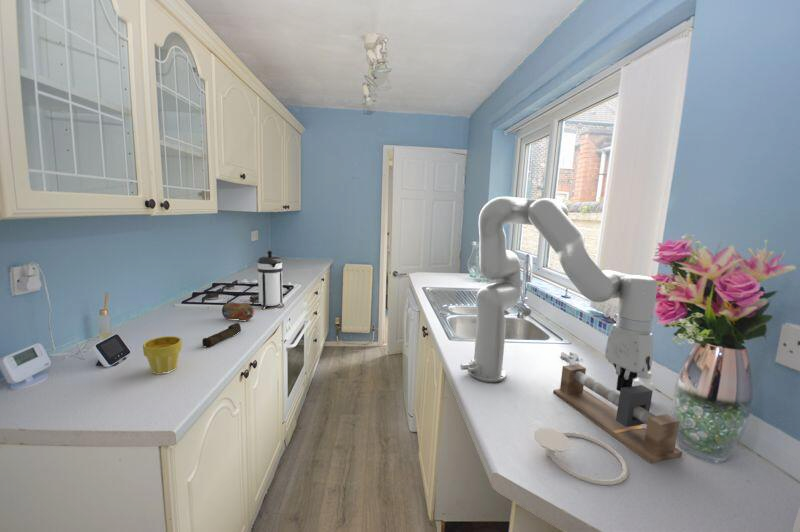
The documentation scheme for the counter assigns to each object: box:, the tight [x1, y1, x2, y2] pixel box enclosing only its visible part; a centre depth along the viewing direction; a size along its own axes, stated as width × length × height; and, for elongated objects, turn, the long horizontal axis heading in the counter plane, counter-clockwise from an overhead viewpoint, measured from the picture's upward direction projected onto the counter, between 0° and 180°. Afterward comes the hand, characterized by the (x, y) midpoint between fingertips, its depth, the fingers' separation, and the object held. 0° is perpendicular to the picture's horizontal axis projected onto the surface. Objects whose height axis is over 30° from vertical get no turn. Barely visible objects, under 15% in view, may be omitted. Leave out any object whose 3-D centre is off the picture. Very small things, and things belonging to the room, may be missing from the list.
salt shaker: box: [632, 371, 654, 391], centre depth 109 cm, size 4×4×10 cm
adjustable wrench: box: [560, 351, 579, 365], centre depth 131 cm, size 25×6×2 cm, turn 161°
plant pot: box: [142, 335, 183, 373], centre depth 116 cm, size 10×10×10 cm
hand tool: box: [201, 322, 242, 348], centre depth 145 cm, size 19×4×5 cm, turn 162°
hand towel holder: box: [533, 427, 629, 486], centre depth 83 cm, size 17×4×21 cm
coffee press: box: [256, 250, 285, 308], centre depth 191 cm, size 17×16×30 cm
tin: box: [221, 302, 255, 322], centre depth 168 cm, size 15×3×8 cm, turn 81°
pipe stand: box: [552, 363, 683, 464], centre depth 98 cm, size 10×32×9 cm, turn 17°
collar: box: [616, 385, 654, 427], centre depth 91 cm, size 7×3×9 cm, turn 107°
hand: (623, 390), depth 94 cm, fingers closed
